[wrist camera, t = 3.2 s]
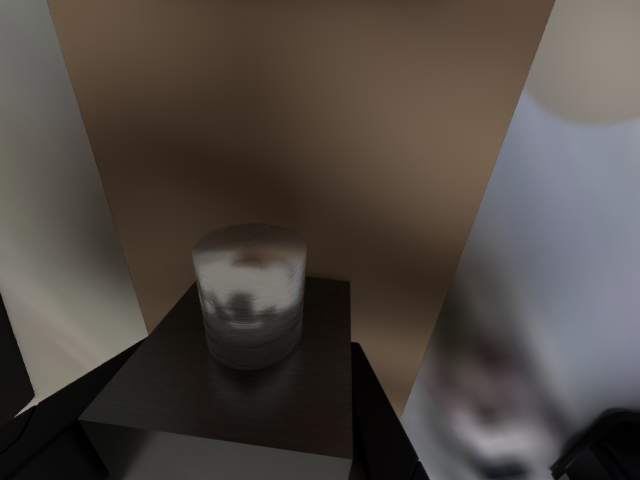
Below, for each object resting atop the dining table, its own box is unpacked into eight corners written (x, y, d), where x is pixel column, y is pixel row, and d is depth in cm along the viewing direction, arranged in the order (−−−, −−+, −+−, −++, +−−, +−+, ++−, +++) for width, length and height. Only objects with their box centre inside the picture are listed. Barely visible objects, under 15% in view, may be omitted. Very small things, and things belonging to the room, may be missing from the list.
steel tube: (314, 508, 18) (303, 650, 13) (240, 496, 18) (204, 632, 13) (360, 214, 8) (377, 361, 3) (199, 197, 8) (15, 314, 4)
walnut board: (357, 514, 21) (358, 532, 20) (207, 490, 21) (201, 507, 20) (640, -318, 5) (709, -416, 4) (-7, -323, 5) (-80, -411, 4)
